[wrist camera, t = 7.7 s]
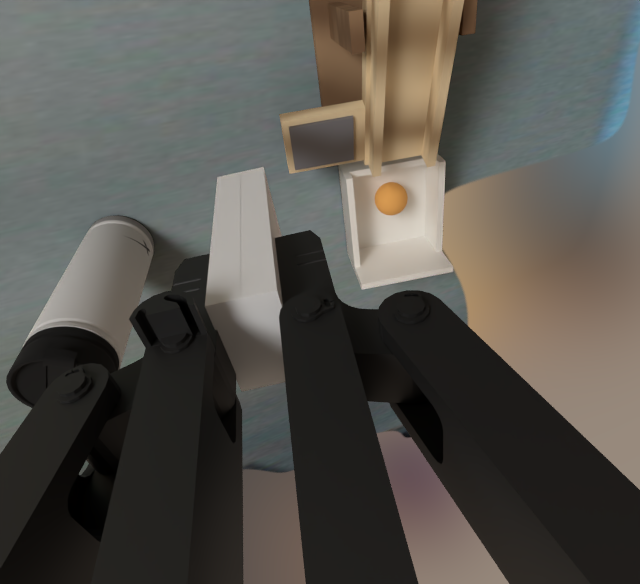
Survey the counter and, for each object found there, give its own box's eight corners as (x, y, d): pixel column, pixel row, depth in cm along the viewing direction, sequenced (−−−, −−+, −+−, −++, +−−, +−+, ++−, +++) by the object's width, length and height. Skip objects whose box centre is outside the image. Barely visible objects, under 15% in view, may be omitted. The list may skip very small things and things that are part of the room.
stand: (297, -90, 32) (316, -108, 25) (447, -114, 32) (509, -138, 25) (322, 112, 40) (341, 144, 33) (440, 91, 41) (485, 118, 33)
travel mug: (159, 219, 44) (114, 364, 28) (150, 274, 47) (105, 431, 31) (89, 204, 42) (-2, 349, 26) (85, 262, 45) (2, 422, 29)
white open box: (338, 163, 43) (353, 192, 38) (430, 147, 44) (458, 173, 38) (347, 253, 49) (361, 289, 44) (428, 237, 50) (452, 271, 44)
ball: (380, 199, 47) (380, 173, 44) (410, 205, 46) (412, 178, 43) (370, 218, 45) (370, 192, 42) (401, 224, 44) (403, 198, 41)
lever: (227, -202, 21) (231, -191, 19) (486, -240, 21) (511, -231, 20) (288, 169, 39) (293, 191, 37) (428, 144, 40) (438, 165, 38)
